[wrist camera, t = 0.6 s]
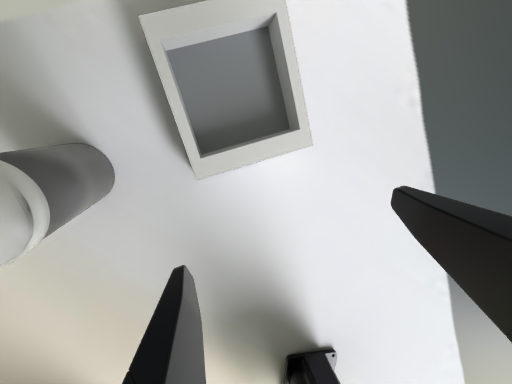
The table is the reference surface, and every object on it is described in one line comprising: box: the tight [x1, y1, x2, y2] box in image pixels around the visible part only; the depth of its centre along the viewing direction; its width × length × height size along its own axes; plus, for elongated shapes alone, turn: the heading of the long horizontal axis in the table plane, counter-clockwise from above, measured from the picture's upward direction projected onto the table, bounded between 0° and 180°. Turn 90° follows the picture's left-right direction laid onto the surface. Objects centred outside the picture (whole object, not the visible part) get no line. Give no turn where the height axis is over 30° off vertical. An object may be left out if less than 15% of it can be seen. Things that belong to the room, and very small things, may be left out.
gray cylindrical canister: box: [0, 143, 115, 267], centre depth 15 cm, size 5×5×10 cm
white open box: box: [138, 0, 313, 180], centre depth 19 cm, size 11×10×4 cm
